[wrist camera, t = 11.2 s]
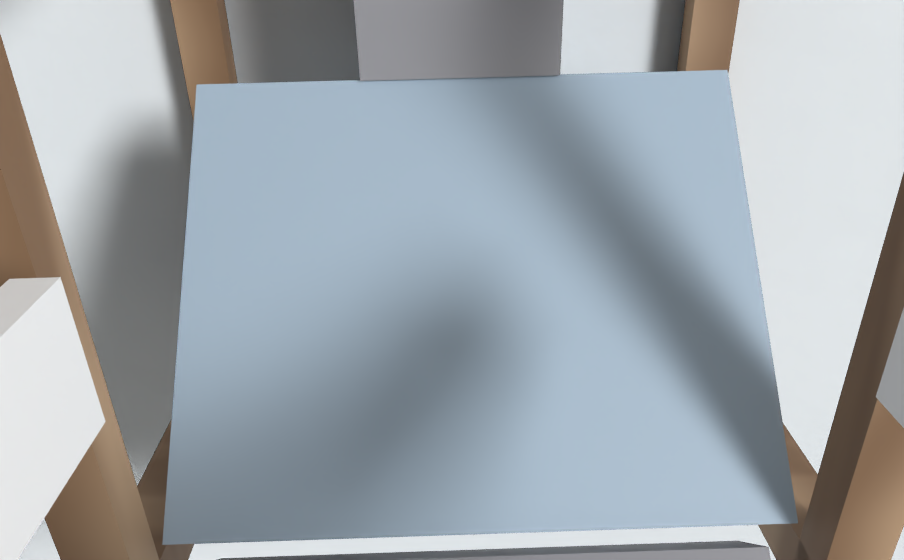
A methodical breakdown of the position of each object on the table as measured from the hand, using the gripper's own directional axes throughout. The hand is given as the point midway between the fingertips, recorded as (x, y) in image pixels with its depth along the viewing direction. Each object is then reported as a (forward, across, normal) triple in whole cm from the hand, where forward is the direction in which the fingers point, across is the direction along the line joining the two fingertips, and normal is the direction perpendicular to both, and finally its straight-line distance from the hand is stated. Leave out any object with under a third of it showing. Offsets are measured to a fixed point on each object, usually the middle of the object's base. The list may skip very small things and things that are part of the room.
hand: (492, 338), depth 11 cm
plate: (+8, 0, -6) cm, 10 cm away
